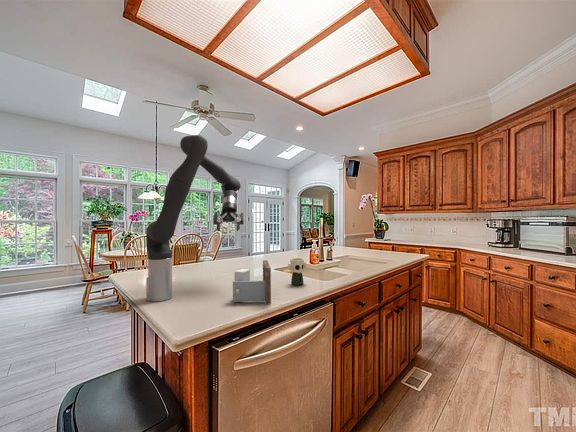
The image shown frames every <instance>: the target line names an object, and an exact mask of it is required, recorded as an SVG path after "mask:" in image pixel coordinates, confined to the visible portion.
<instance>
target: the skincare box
mask: <svg viewBox="0 0 576 432" xmlns="http://www.w3.org/2000/svg"><path fill="white" fill-rule="evenodd" d="M250 270H251V269H247V268H246V269H244V268H243V269H242V268H241V269H238V270H235V271H234V281H251V271H250Z"/></svg>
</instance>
